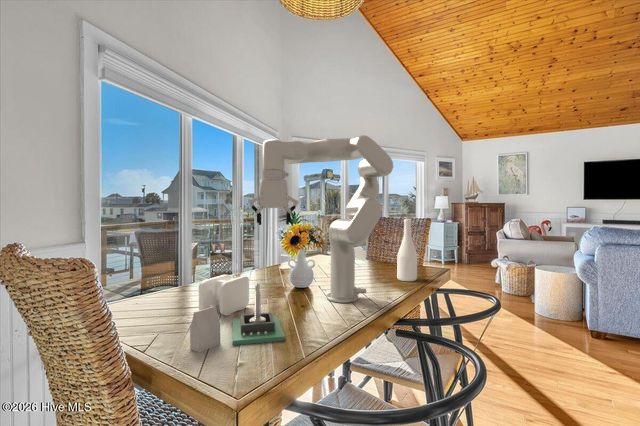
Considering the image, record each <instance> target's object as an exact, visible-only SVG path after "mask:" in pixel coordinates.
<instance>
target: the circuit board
mask: <svg viewBox="0 0 640 426" xmlns="http://www.w3.org/2000/svg"><path fill="white" fill-rule="evenodd" d="M260 314H261V315H260V316H261V317H264V318H265V319H266V321H265V322H263V323H250V322H249V320H250V319H251V318H252V317H255V313H247V314H246V313H244V314H240V317H239V318H237V317H236V318H233V319H232V346H239V345H251V344H252V345H253V344H262V343H272V342H282V341H283V342H284V341H285V339H286V338H285V333H284V330H283V328H282V325H281V321H280V320H279V317H278V315H273V313H272V312H261V313H260Z"/></svg>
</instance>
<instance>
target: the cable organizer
mask: <svg viewBox="0 0 640 426" xmlns="http://www.w3.org/2000/svg"><path fill="white" fill-rule="evenodd" d="M249 303H250V278H249V276H246V275H242V276H238V277H235V278H232V277H231V275H230V274H221V275H218V276H214V277H210V278H207V279H204V280H202V281H200V283H199V284H198V311H200V310H204V309H207V308H210V307H214V306H216V309H219V313H220V314H221V315H223V316H226V317H228V316H231V315H233V314H234V313H235V312H237V311H242V310H244V309H245V308H246V307H248V305H249Z"/></svg>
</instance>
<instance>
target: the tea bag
mask: <svg viewBox="0 0 640 426" xmlns="http://www.w3.org/2000/svg"><path fill="white" fill-rule="evenodd" d="M217 309H218V308H217ZM217 309H216V306H214V307H210V308H207V309H204V310H200V311H199V310H197V311H194V312H193V315H192V320H191V323H190V326H189V333H190V334H189V342H190V343H189V344H190V345H189V347H190V348H189V349H190V350H192V351H193V352H196V353H202V352H204V351H207V350H209V349H211V348H214V347H216V346H218V345H221V320H220V317H219V313H218V311H217Z"/></svg>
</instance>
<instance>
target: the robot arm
mask: <svg viewBox="0 0 640 426" xmlns="http://www.w3.org/2000/svg"><path fill="white" fill-rule="evenodd" d="M358 159H361V160H360V161H359V163H358V166H357V172H358V175H359V185H358V188H357V189H356V191H355V192H354V194H353V195H352V197H351V198H350V200H349V201H348V202H347V205H346V206H345V209H344V210H345V213H344V214H345V215H346V217H347V218H338V219H335V220H333V221H332V222H331V223H330V225H329V227H328V238H329V239H328V240H329V245H330V292H329V293H327V294H326V299H327V300H328V301H330V302H333V303H340V304H341V303H342V304H343V303H344V304H346V303H348V304H349V303H353V302H356V301H358V300H359V295H360V294H367V288H365V287H364V288H362V287H356V286H355V285H356V284H355V283H356V282H355V280H356V276H355V274H356V272H355V271H356V270H355V266H356V265H355V264H356V262H355V261H356V252H355V247H354V246H361V245H362V244H364V243H365V241H367V239H368V238H369V236H370V235H371V233H372V232H373V230H374V228H375V227H376V225H377V224H378V222H379V220H380V218H381V215H382V209H383V208H382V205H381V202H380V201H379V200H378V199H377V198H378V196H379V193H380V184H379V180H378V178H382V177H383V178H384V177H386V176H389V175H391V173H392V172H393V169H394V162H393V159H392V158H391V156H390V155H389V154H388V152H386V151H385V150H384V149H383V148H382V147H381V146H380V145H379V144H378V143H377V142H376V141H375V140H374V139H373V138H371V137H370V136H368V135H366V134H365V135H364V134H362V135H359V136H354V137H347V138H346V137H344V138H324V139H320V140H319V139H318V140H315V141H312V142H306V143H304V142H303V141H300V140H279V139H267V140H264V141H263V143H262V179H260V182H259V189H258V196H256V197H254V198H251V199H250V200H248V204H249V206H250V208H251V209H252V210H253V212H255V213H256V223H258V225H259V226H261V225H262V213H261V212H262V210H263V209H284V210H285V225H289V224H290V223H291V214H292V213H293V211H294V210H295V209H296V208H297V206H298V203H299V201H298V200H297V199H295V198H293V197H291V196H289V189H288V182H287V179H286V178H288V177H289V176H290V175H289V172H286V171H285V165H294V164H309V163H327V162H339V161H341V162H342V161H352V160H358ZM257 201H258V208H257V207H256V206H255V204H254V203H256V202H257ZM289 201H290V202H292V203H293V204H292V205H291V207H289Z"/></svg>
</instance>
